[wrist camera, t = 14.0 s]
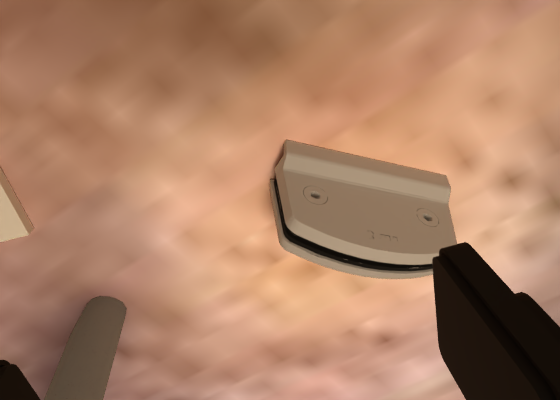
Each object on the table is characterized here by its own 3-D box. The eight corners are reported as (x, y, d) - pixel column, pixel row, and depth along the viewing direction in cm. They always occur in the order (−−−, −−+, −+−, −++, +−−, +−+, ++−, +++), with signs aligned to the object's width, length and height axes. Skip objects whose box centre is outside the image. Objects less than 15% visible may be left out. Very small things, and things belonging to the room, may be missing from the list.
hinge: (449, 176, 44) (484, 261, 37) (424, 209, 47) (452, 293, 40) (281, 138, 40) (284, 225, 33) (266, 176, 43) (267, 263, 36)
